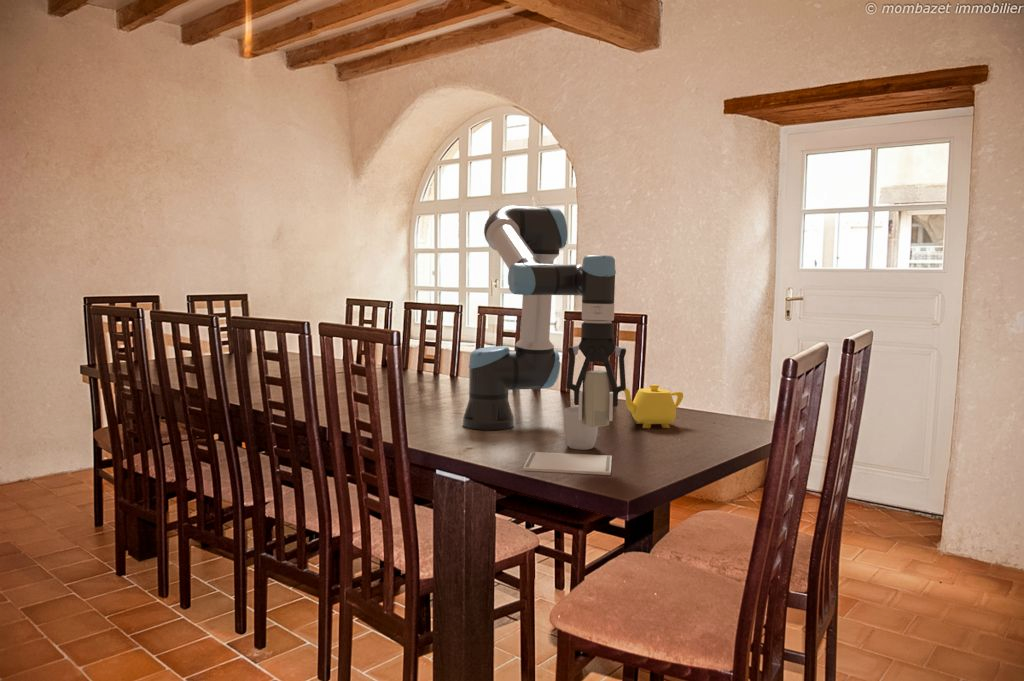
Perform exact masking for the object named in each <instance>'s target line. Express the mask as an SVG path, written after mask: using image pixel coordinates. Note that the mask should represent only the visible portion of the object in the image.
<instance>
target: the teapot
mask: <svg viewBox="0 0 1024 681" xmlns="http://www.w3.org/2000/svg"><path fill="white" fill-rule="evenodd" d="M623 392H624V396H625V405H626V408H627V409H628V411H629V412H631V415H632V418H633V419H634V421H635V422H636V424H637V425H642V429H652V428H651V427H652V425H661V428H663V429H670V428H671V426H670V424H673V423H674V421H675V419H677V418H676V417H677V408H678V407H679V405H680V404H681V403H682V401H683V398H684V393H683V391H672V392H670V391H669V390H667V389H664V388H660V385H659V384H655V383H653V384H649V387H648V388H639V389H638V390H637V392H636V394H635V396H634V399H633V400H632V397H631V396H632V395H631V391H630V390H629V388H627V387H626V390H624V391H623ZM673 396H676V397H677V398H676V400H675V401H674V399H673Z"/></svg>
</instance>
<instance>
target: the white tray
mask: <svg viewBox="0 0 1024 681" xmlns="http://www.w3.org/2000/svg"><path fill="white" fill-rule="evenodd" d="M612 458H613V456H612V455H608V454H607V455H603V454H583V453H564V452H561V453H560V452H543V451H541V452H540V451H531V452H530V454H529V456H528V458H527V460H526V462H525V463H524V466H523V467H522V471H525V472H528V471H529V472H544V473H545V472H547V473H549V472H550V473H564V474H565V473H566V474H581V475H583V474H584V475H585V474H586V475H601V476H611V473H612V461H613V459H612Z"/></svg>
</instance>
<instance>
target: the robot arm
mask: <svg viewBox="0 0 1024 681" xmlns="http://www.w3.org/2000/svg"><path fill="white" fill-rule="evenodd" d="M483 234H484V237H485V241H486V242H487V244H488V246H489V247H490V248H491V249H492V250H494V251H496V252H497V253H498V254H499V256H500V258H501V260H503V262H504V264H505V265H506V267H507V268H508V271H507V272H508V273H507V283H508V289H509V291H510V292H511V294H514V295H519V296H520V295H522V302H521V303H522V304H521V305H522V306H521V326H520V339H518V341H517V342H516V343H515V345H514V350H510V348H509V346H507V345H497V346H493V345H492V346H485V347H482V348H476V349H474V350H472V351H471V352H470V354H469V361H468V362H469V363H468V368H469V370H468V371H469V374H468V375H469V376H468V379H469V380H468V385H469V386H468V402H467V405H466V408H465V411H464V414H463V417H462V425H463V427H465V428H466V429H467V428H468V429H471V430H472V429H473V430H480V431H482V430H483V431H499V430H506V429H510V428H513V427H514V424H515V422H514V421H515V418H514V415H513V411H512V408H511V405H510V402H509V391H512V390H513V391H514V390H537V391H538V390H543V389H550V388H552V387H553V386H555V384H556V383H557V380H558V378H559V374H560V370H561V361H560V359H561V358H560V354H559V352H558V351H557V350H555V345H554V344H553V343H552V342H551V340H550V333H551V330H550V329H551V316H552V314H551V313H552V298H553V297H552V296H581V320H582V321H583V322H582V323H581V327H580V328H581V331H580V336H581V337H580V343H579V344H578V345H574V346H569V347H568V348H567V352H568V356H569V360H568V361H569V362H568V369H567V370H568V372H567V381H566V389H568V390H572V391H573V404H574V406H578V407H579V418H578V420H582V394H583V390H580V389H581V386H582V385H583V379H584V376H585V373H586V371H588V367H589V365H590V363H591V362H593V363H595V362H600V363H603V365H604V368H605V371H606V372H607V374H608V378H609V381H610V386H611V390H612V391H610V397H609V422H613V418H614V416H613V414H614V413H613V411H614V407H616V408H617V407H618V404H619V403H618V402H619V393H621V392H624V390H626V388H627V385H626V384H627V383H626V369H625V368H626V366H625V356H626V354H627V348H626V347H619V346H617V345H616V344H615V340H614V339H615V338H614V331H615V325H614V323H613V322H612V321H614V320H615V295H616V294H615V293H616V292H615V290H616V289H615V288H616V274H617V270H616V259H615V257H614V256H612V255H605V254H604V255H603V254H602V255H601V254H600V255H597V254H596V255H594V254H591V255H589V254H588V255H585V256H584V257H583V258H582V263H581V264H578V263H577V264H575V263H574V264H573V263H572V264H569V263H567V264H565V263H563V264H562V263H561V264H560V263H555V262H554V261H555V259H556V258H557V257H559V255H560V250H561V249H564V248H565V246H567V241H568V226H567V221H566V218H565V215H564V213H563V212H562V211H561V209H560V208H556V207H550V206H529V205H528V206H527V205H526V206H523V205H521V206H519V205H507V206H504V207H503V206H502V207H500V208H498V209H497V210H495V211H494V212H493V213H492V214H491V215H490V216H489V217H488V218H487V220H486V221H485V224H484V229H483ZM579 350H580V352H581V354H582V355H583V356H584V361H583V364H582V367H581V369H580V373H579V374H578V378H577V381H576V383H575V384H574V382H573V381H574V375H575V374H574V373H575V365H576V356H577V355H578V354H579ZM614 352H615V353H616V355H615V356H617V357H618V368H619V383H620V385H618V384H617V382H616V378H615V375H614V372H613V368H612V365H611V361H610V359H609V358H610V356H611V355H612V354H613V353H614Z"/></svg>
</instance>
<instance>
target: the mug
mask: <svg viewBox="0 0 1024 681" xmlns="http://www.w3.org/2000/svg"><path fill="white" fill-rule="evenodd" d="M563 417H564V418H563V420H564V422H563V427H564V435H565V441H566V444H567V446H568V447H569V448H570V449H573V450H581V451H585V450H591V449H593V448H594V446H595V445H596V442H597V437H598V431H599V427H589V426H586V425H583V424H582V420H578V418H579V406H570V407H565V408H564V414H563Z"/></svg>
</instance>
